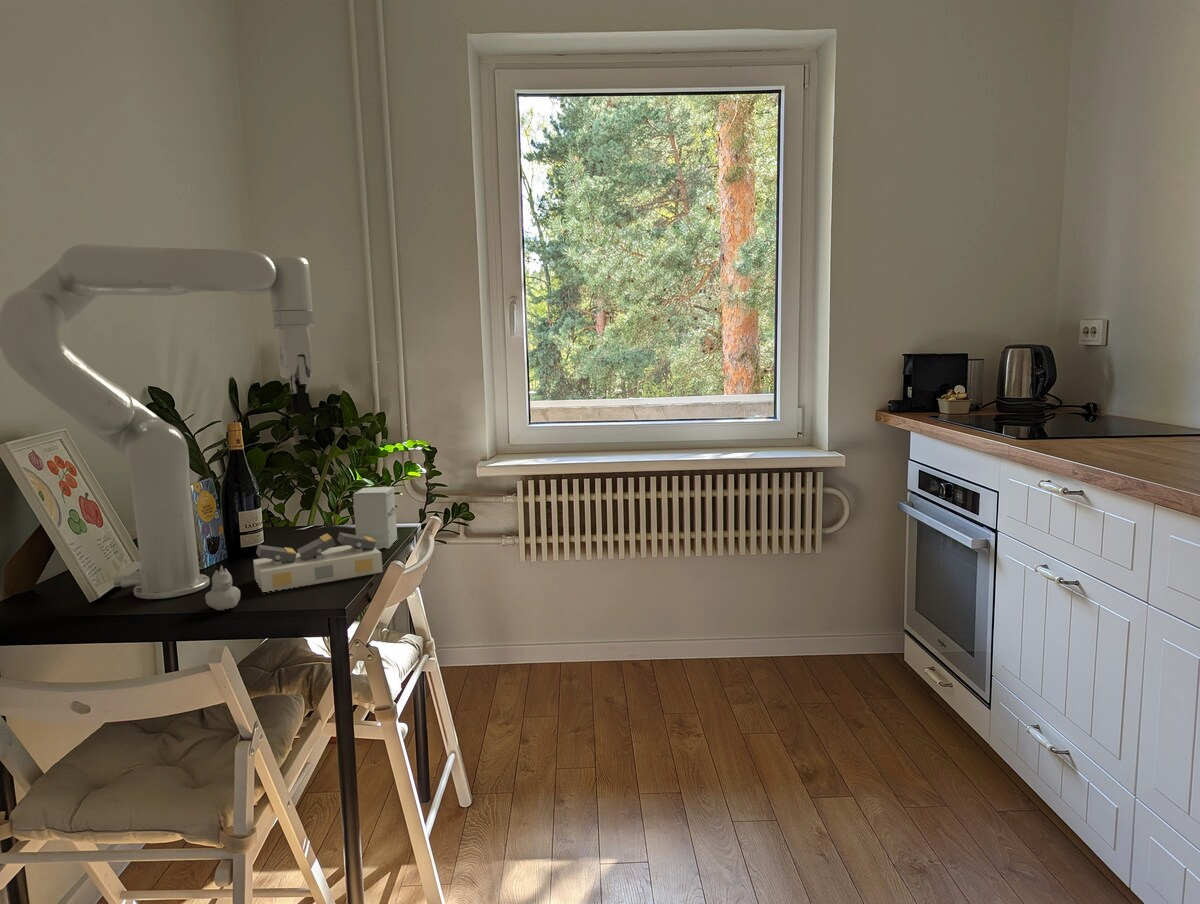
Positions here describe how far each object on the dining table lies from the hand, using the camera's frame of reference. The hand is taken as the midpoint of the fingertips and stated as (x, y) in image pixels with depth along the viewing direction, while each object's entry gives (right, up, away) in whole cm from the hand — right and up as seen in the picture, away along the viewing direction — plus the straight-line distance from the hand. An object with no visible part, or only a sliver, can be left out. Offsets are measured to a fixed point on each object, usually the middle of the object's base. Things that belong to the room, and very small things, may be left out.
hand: (301, 413), depth 162 cm
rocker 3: (+12, -26, -2) cm, 28 cm away
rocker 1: (-1, -27, -9) cm, 29 cm away
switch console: (+5, -32, -5) cm, 33 cm away
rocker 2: (+5, -27, -5) cm, 28 cm away
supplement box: (+10, -29, +18) cm, 35 cm away
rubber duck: (-5, -35, -22) cm, 42 cm away
